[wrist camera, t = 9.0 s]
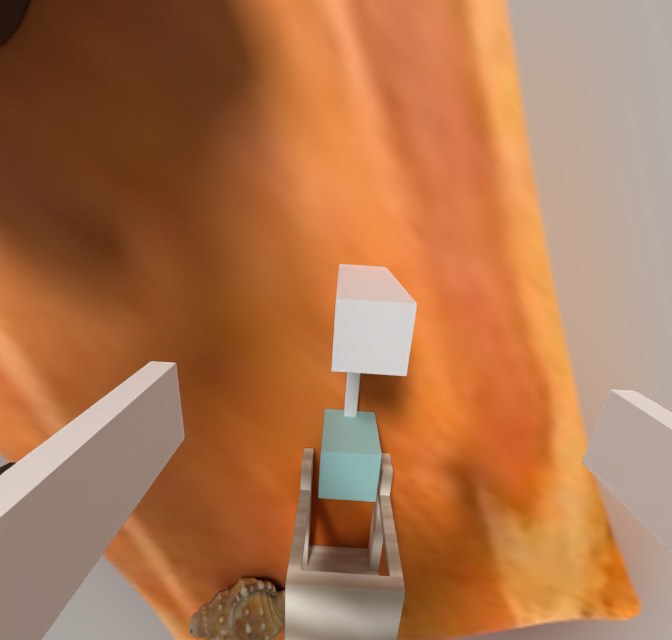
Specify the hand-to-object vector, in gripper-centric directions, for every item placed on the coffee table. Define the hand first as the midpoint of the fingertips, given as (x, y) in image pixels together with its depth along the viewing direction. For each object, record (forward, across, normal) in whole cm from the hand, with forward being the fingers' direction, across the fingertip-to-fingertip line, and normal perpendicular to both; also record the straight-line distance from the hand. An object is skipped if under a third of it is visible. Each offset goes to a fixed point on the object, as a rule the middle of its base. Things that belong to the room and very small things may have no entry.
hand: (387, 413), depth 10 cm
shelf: (+18, 0, -25) cm, 31 cm away
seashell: (+19, -10, -40) cm, 45 cm away
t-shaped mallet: (+19, 0, -8) cm, 20 cm away
